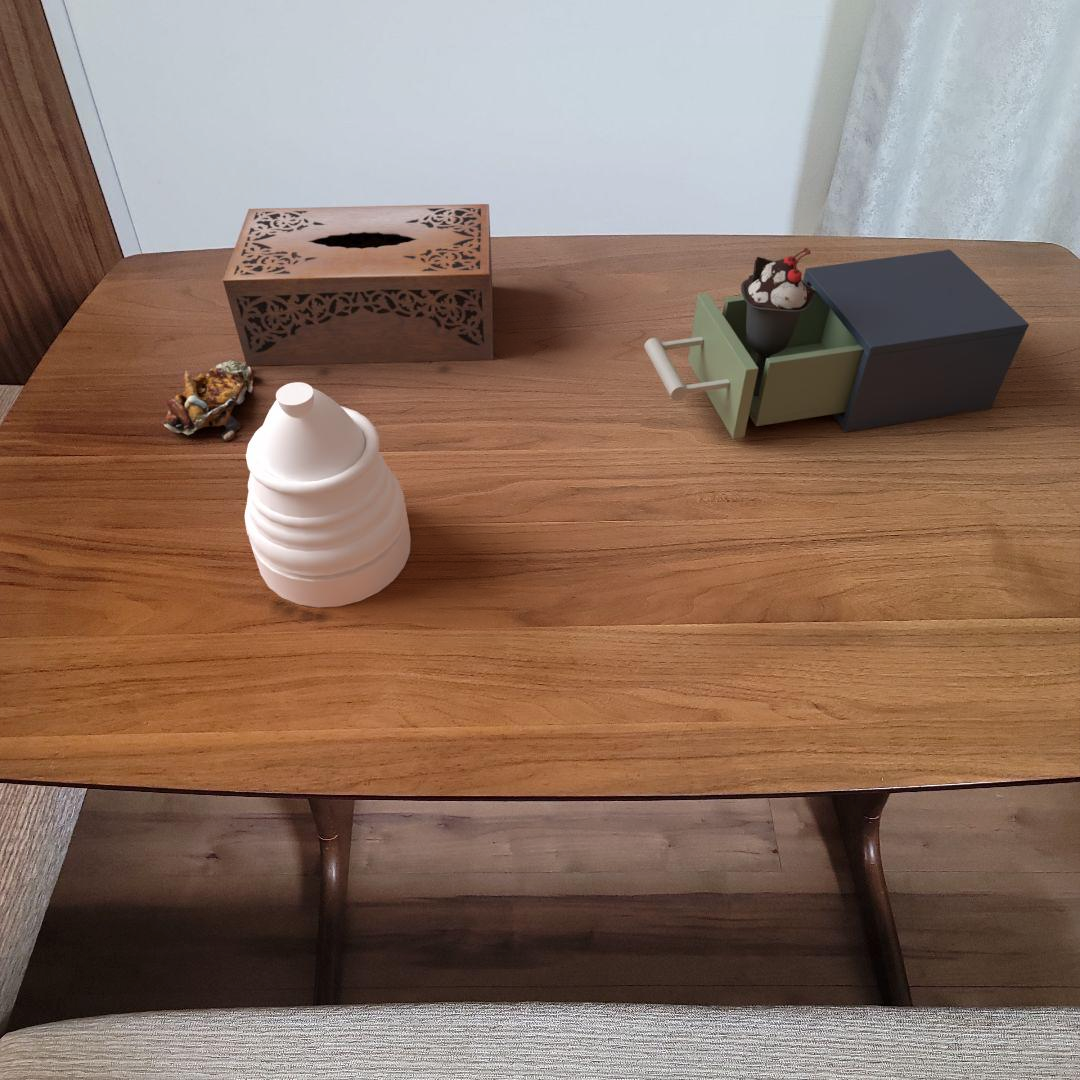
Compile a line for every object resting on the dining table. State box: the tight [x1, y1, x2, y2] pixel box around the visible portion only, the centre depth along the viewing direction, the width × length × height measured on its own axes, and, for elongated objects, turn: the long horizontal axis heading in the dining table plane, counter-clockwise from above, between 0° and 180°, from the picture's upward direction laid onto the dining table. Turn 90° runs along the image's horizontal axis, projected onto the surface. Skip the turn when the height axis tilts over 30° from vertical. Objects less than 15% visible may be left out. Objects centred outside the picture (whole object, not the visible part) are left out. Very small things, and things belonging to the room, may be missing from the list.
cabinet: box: [802, 249, 1030, 433], centre depth 92 cm, size 16×14×10 cm
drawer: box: [644, 286, 864, 439], centre depth 89 cm, size 20×13×8 cm, turn 103°
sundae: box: [740, 247, 816, 396], centre depth 86 cm, size 7×7×15 cm
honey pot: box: [244, 381, 412, 608], centre depth 72 cm, size 13×13×18 cm
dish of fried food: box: [163, 360, 255, 442], centre depth 91 cm, size 7×12×4 cm, turn 179°
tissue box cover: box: [222, 203, 494, 367], centre depth 98 cm, size 26×14×10 cm, turn 92°
